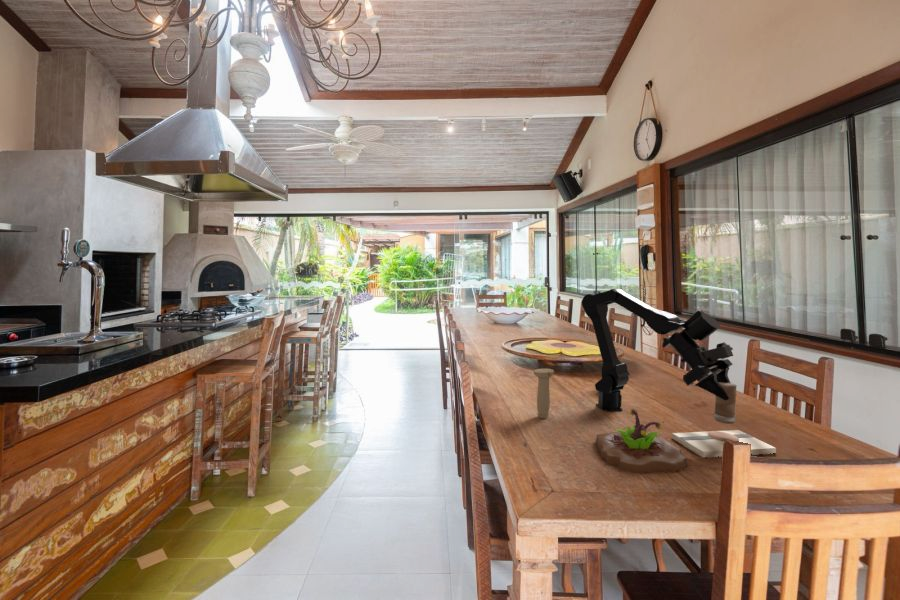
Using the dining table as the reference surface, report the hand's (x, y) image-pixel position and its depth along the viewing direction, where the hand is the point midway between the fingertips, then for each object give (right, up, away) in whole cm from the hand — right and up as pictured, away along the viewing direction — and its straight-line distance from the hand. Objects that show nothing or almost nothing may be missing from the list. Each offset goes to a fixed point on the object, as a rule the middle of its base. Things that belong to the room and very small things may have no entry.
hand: (731, 398), depth 112 cm
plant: (-28, -13, -5) cm, 31 cm away
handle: (-46, -11, +21) cm, 51 cm away
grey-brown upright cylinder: (-1, -7, +2) cm, 7 cm away
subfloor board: (-3, -13, 0) cm, 13 cm away
